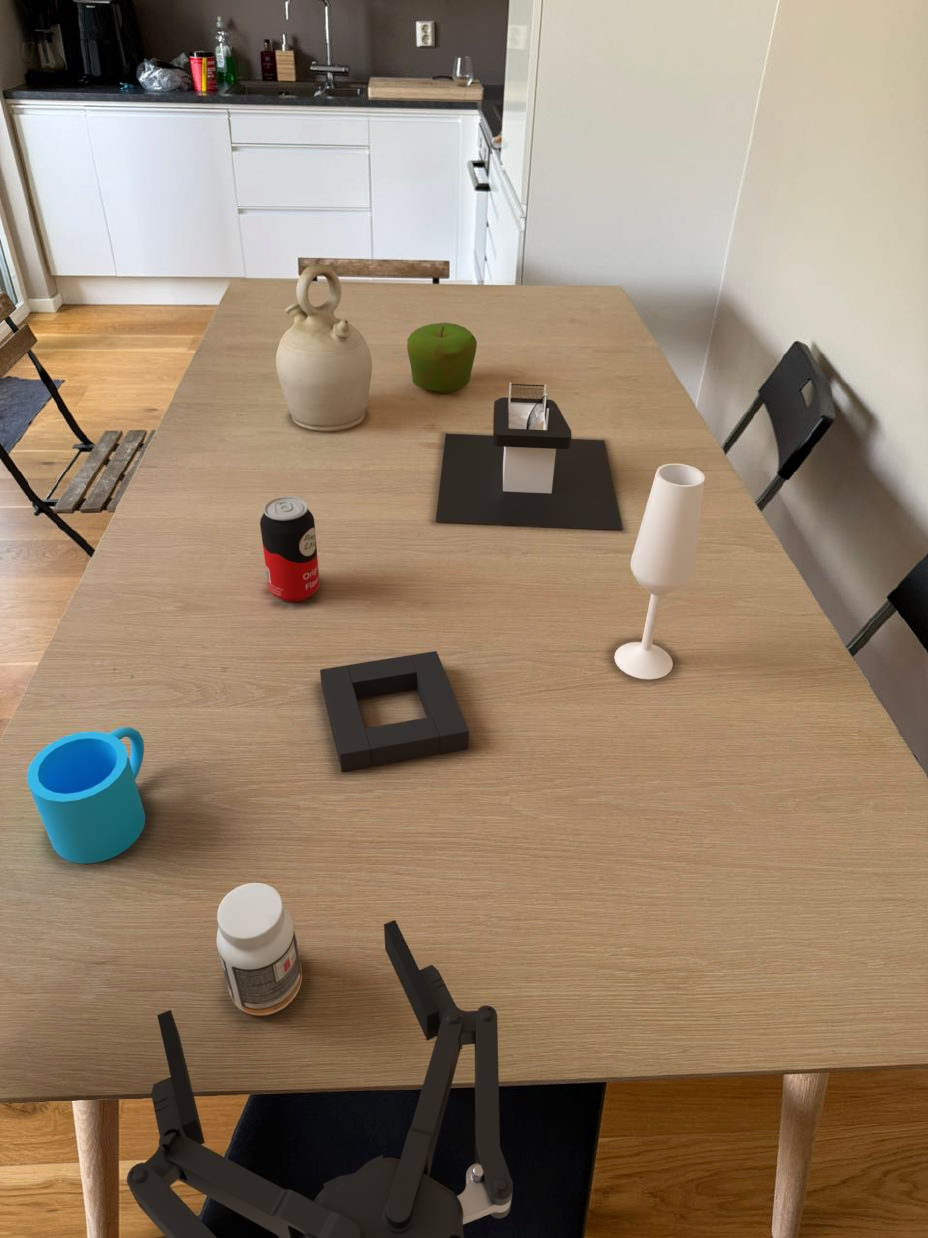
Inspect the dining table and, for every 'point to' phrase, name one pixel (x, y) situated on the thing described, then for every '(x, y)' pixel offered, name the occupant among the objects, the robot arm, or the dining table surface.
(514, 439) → the black-topped pedestal
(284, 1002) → the pill bottle
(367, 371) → the jug
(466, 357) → the apple
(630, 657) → the champagne flute
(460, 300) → the dining table surface
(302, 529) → the beverage can
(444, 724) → the dock pad
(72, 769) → the mug
